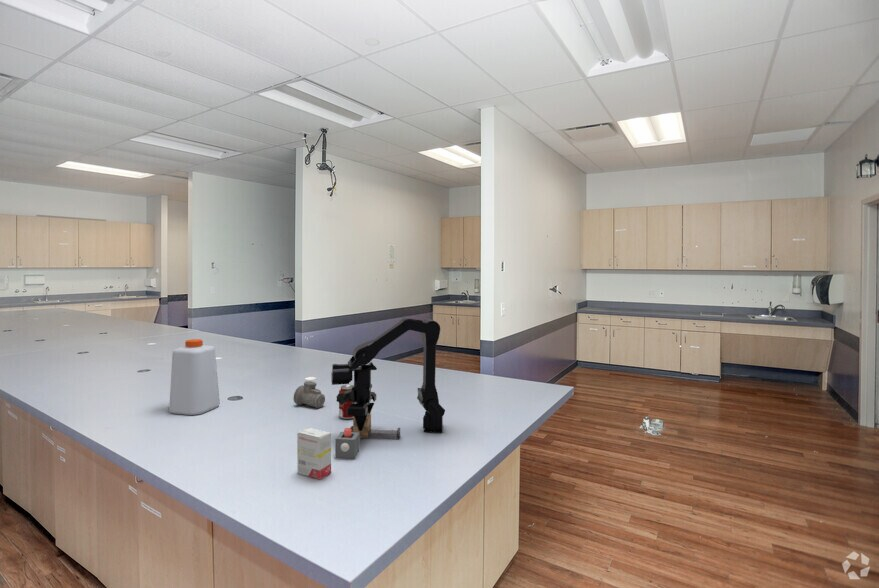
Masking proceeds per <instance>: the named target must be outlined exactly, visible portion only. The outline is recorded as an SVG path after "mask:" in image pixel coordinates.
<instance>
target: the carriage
mask: <svg viewBox="0 0 879 588" xmlns="http://www.w3.org/2000/svg"><path fill="white" fill-rule="evenodd" d="M352 420H353V421H352V423H353V424H352V426H353V432H360V439H369V438H368V432H369V430H372V413H368V416H367V418H366V421H365V424H364V427H363V429H362V431H359V430H358V426H357V423H356V419H355V417H354V418H352Z"/></svg>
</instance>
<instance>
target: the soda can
mask: <svg viewBox="0 0 879 588" xmlns="http://www.w3.org/2000/svg"><path fill="white" fill-rule="evenodd" d="M353 386H354V384H342V385H341V386H340V389H339V391H338V394H339V393H341V392H344V391H347V390H350V389H352V387H353ZM351 404H356V402H355V403H351V401H349V402H346V403H343V404H342V405H339V404H338V417H339V418H340V419H343V420H353V418H354V416H349V415H347V408H348V407H349V406H350V405H351Z"/></svg>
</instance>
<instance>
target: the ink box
mask: <svg viewBox="0 0 879 588" xmlns="http://www.w3.org/2000/svg"><path fill="white" fill-rule="evenodd" d="M296 433H297V434H296V435H297V440H296V441H297V442H296V443H297V448H296V451H297V454H296V455H297V459H296V460H297V463H296V464H297V474H298V475H299V474H300V475H303V476H307V477H309V478H314V479H317V480H322V479H324V478H325V477H327V476H328V475H330V474H331V473H332V433H331V432H329V431H324V430H320V429H316V428H313V427H312V428H311V427H308V428H306V429H302V430H300V431H298V432H296Z"/></svg>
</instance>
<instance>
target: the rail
mask: <svg viewBox="0 0 879 588" xmlns="http://www.w3.org/2000/svg"><path fill="white" fill-rule="evenodd" d="M350 428H351V432H353V425H352V426H350ZM400 438H401V427H398V428H397V430H396V429H395V430H394V429H393V430H391V429H371V430H369V432H368V438H367V439H372V440H378V439H379V440H397V441H399V440H400Z"/></svg>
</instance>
